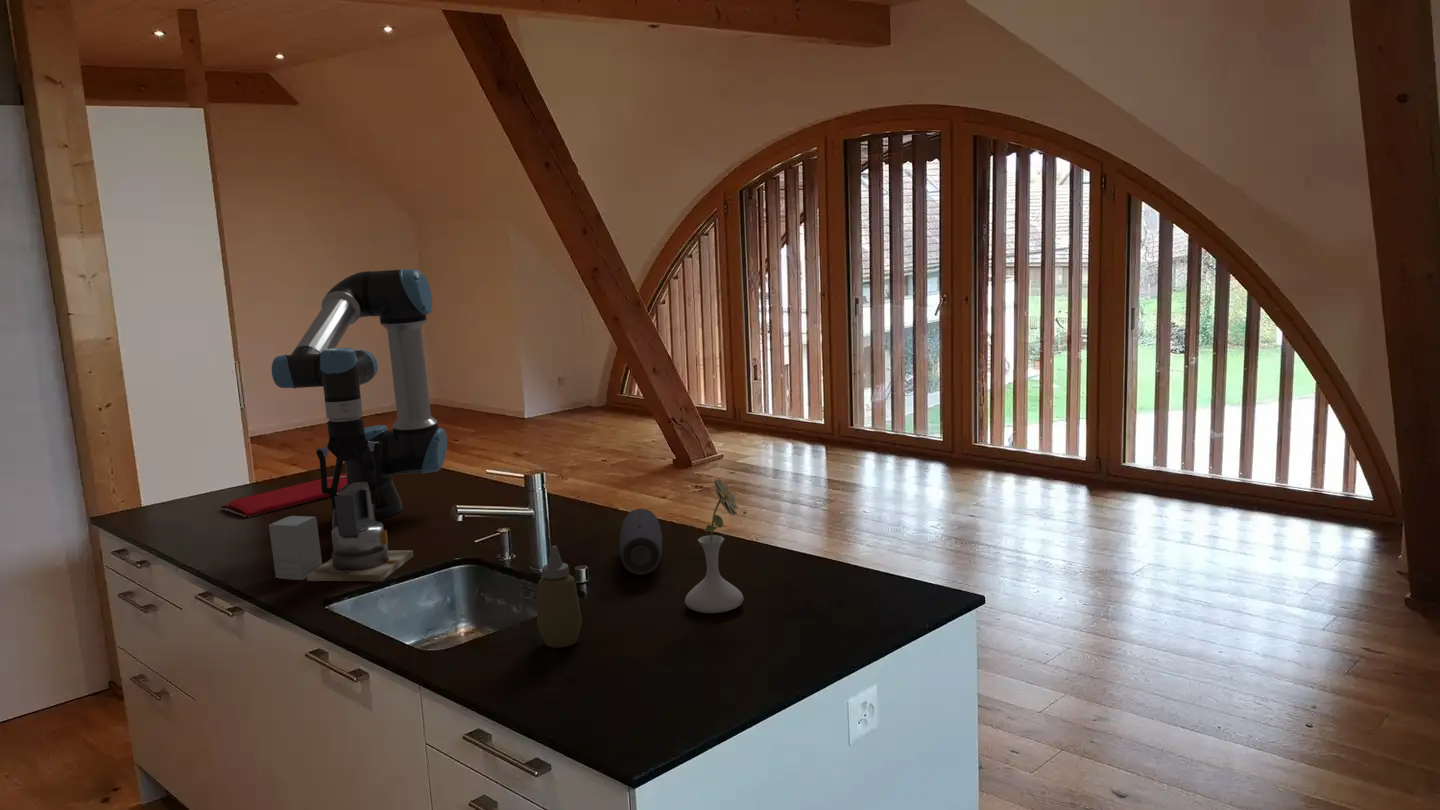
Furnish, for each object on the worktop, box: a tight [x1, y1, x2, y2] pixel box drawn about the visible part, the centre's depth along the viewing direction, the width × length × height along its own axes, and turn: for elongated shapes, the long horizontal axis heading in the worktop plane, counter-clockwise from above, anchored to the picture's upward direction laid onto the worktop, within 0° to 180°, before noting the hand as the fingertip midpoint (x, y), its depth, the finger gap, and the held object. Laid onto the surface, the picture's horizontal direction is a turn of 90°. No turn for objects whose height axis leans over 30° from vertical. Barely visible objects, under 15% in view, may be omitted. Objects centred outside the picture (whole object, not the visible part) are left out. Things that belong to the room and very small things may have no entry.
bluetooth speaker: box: [619, 508, 663, 575], centre depth 234 cm, size 23×9×10 cm, turn 4°
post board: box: [306, 543, 414, 583], centre depth 240 cm, size 17×17×4 cm
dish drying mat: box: [220, 472, 347, 517], centre depth 309 cm, size 16×41×4 cm, turn 139°
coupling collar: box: [331, 482, 389, 557], centre depth 239 cm, size 12×12×14 cm
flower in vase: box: [684, 477, 745, 614], centre depth 205 cm, size 13×11×25 cm
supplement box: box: [268, 515, 323, 581], centre depth 238 cm, size 7×7×13 cm
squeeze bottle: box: [536, 545, 583, 649], centre depth 191 cm, size 8×8×18 cm
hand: (356, 520), depth 239 cm, fingers closed on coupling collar, 6 cm apart
